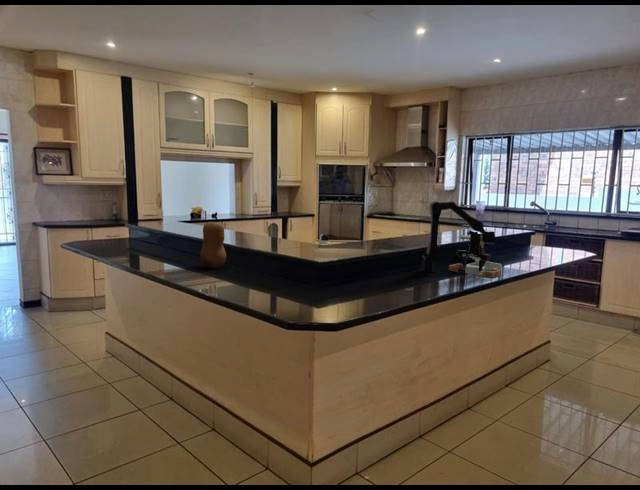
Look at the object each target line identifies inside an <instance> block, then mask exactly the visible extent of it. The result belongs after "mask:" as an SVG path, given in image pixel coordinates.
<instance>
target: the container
mask: <svg viewBox="0 0 640 490" xmlns="http://www.w3.org/2000/svg"><path fill="white" fill-rule="evenodd" d="M330 237H331V236H330V235H329V234H326V233H325V234H323V233H322V234H320V235H319V241H318V243H317V245H318V244H330V245H331V242H330Z"/></svg>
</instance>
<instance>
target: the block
mask: <svg viewBox="0 0 640 490" xmlns="http://www.w3.org/2000/svg"><path fill="white" fill-rule="evenodd" d="M464 271H465V274H468V275H469V274H470V275H476V276H477V275H478V276H479V273H480V271H479V266H474V265H466V270H464ZM481 271H486V270H485V267H483V268H482V270H481Z"/></svg>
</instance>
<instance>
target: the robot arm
mask: <svg viewBox="0 0 640 490" xmlns="http://www.w3.org/2000/svg"><path fill="white" fill-rule="evenodd" d="M445 210H446V211H447V210H451V211H452V212H454V213H455V214H456V215H458V217H460V218H461V219H462V220H463V221H465V223H466V224H467V225H468V227H469V228H470V229H471V230H470V229H469V230H468V232H466V234H467V236H470V244H468V246H469V251H467V250H459V249H458V250H457V251H456V256H458V258H459V257H460V258H459V259H460V261H461V264H463V266H464V268H466V265H467V262H468V259H467V258H468V256H474V257H479V258H480V259H481V260H479V271H481V270H482V268H483V266H484V264H485V262H486V261H488V262H490V260H491V261H492V254H489V253H485V252H486V249H485V248H484V247H483V248H482V247H481V245H480V241H483V243H484V244H493V245H494V244H495V243H496V234H495V231H492V230H491V231H487V230H486V229H484V223H483V222H482V221H480V220H478V219H476V218H474V217H473V216H471V215H470V214H469V213H467V212H466V211H465V210H464V209H462V208H461V207H460V206H458V205H457V204H456V203H455V202H454V201H452V200H451V201H447V202H446V201H445V202H438V201H432V202H431V203H430V204H429V212H430V217H431V218H430V231H429V232H430V233H429V243H428V245H427V248H426V251H425V252H424V253H423V255H422V256H421V257H422V259H423V260H422V261H421V268H420V269H419V271H421V272H423V273H435V272H436V270H435V266H436V263H435V261H436V259H438V257H439V255H440V254H441V253H440V250H441V246H440V245H439V244H438V237H439V235H438V234H439V225H440V224H439V222H440V218H441V214H442V211H445ZM472 230H473V231H472ZM471 254H473V255H471ZM466 255H468V256H466ZM476 255H477V256H476Z"/></svg>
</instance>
